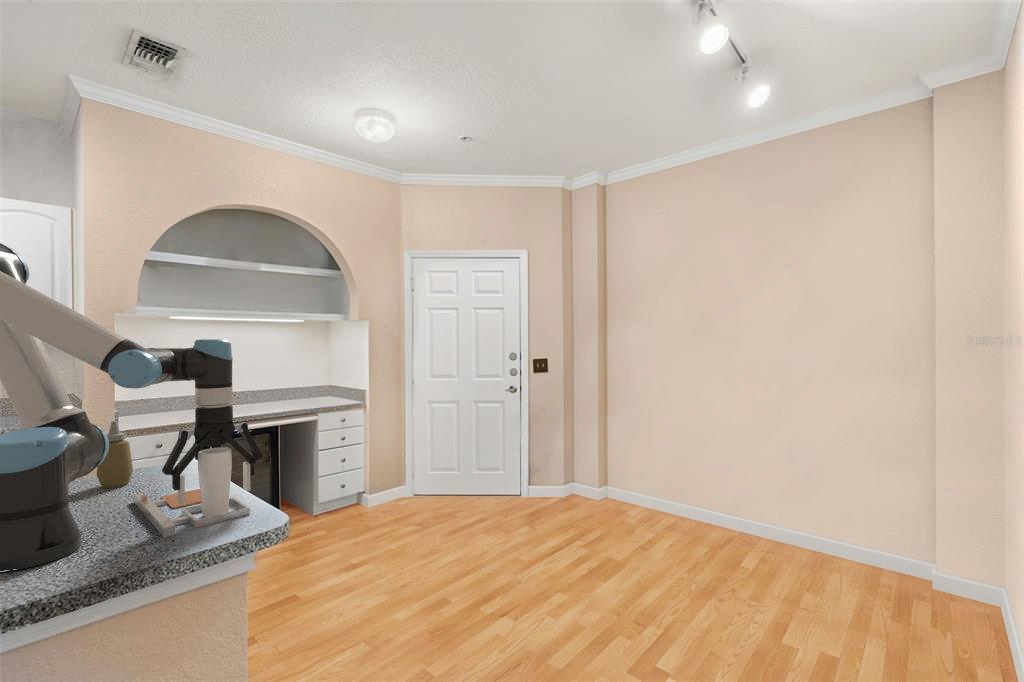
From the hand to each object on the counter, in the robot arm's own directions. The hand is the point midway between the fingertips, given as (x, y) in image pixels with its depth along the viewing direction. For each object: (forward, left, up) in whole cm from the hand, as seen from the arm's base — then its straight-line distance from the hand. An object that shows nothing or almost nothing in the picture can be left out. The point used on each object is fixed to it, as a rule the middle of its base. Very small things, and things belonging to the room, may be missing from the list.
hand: (215, 496), depth 117 cm
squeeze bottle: (+38, +30, -4) cm, 49 cm away
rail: (+7, +6, -4) cm, 10 cm away
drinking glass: (0, 0, -4) cm, 4 cm away
